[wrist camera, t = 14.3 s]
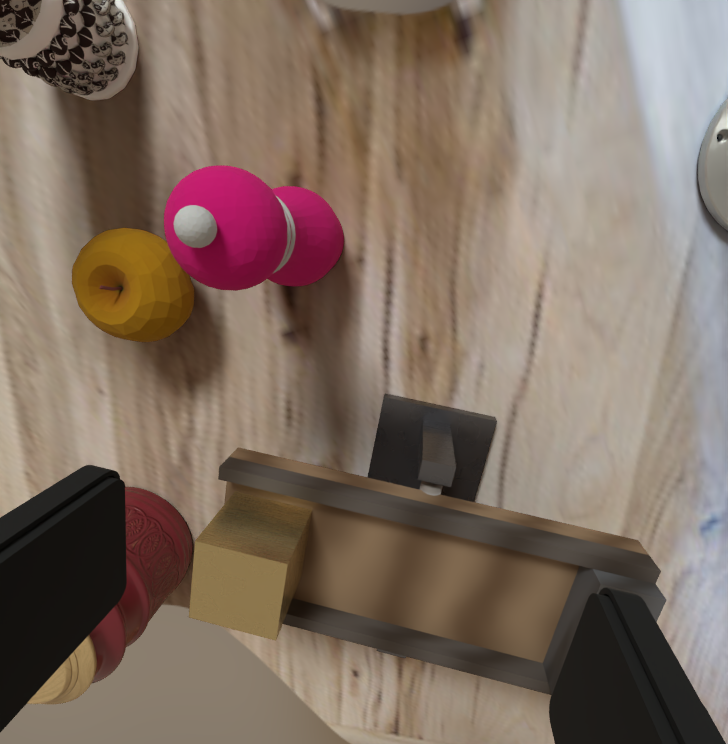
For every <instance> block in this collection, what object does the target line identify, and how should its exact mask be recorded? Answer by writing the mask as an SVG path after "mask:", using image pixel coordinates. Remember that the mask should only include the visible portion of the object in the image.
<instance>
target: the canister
mask: <svg viewBox="0 0 728 744" xmlns="http://www.w3.org/2000/svg"><path fill="white" fill-rule="evenodd" d="M125 510H126V570H127V584H126V589H125V592H124V594H123V596H122V598H121V599H120V601H119V602H118V603H117V605H116V606H115V607H114V608H113V609H112V610H111V611H110V612H109V613H108V614H107V616H106V617H105V618H104V619H103V620H102V621H101V622H100V623H99V624H98V625H97V627H96V628H95V629H94V630H93V631H92V632H91V633H90V634H89V635H88V636H87V638H86V639H85V640H84V641H83V642H82V643H81V644H80V645H79V646H78V647H77V649H76V650H75V651H74V652H73V653H72V654H71V655H70V656H69V657H68V658H67V660H66V661H65V662H64V663H63V664H62V665H61V666H60V667H59V668H58V669H57V671H56V672H55V673H54V674H53V675H52V676H51V677H50V678H49V679H48V680H47V682H46V683H45V684H44V685H43V686H42V687H41V688H40V689H39V690H38V691H37V693H36V694H35V695H34V696H33V697H32V698H31V699H30V700H29V701H28V702H27V704H40V703H41V704H61V703H66V702H69V701H72V700H74V699H76V698H78V697H79V696H80V695H82V694H83V693H84V692H85V691H86V690H87V689H88V688H89V686H90V684H91V683H95V682H98V681H100V680H102V679H104V678H106V677H107V676H108V675H110V674H111V673H112V672H113V671H114V670H115V669H116V668H117V667H118V665H119V664H120V662H121V660H122V658H123V656H124V652H125V648H126V647H127V646H129V645H131V644H132V643H133V642H135V641H136V640H137V639H138V638H139V637H140V636H141V635H142V633H143V632H144V630H145V628H146V626H147V624H148V622H149V621H150V619H151V618H152V616H153V615H154V614H155V613H156V611H157V610H158V608H159V607H160V606H161V605H162V603H163V602H164V601H165V599H166V598H167V597H168V595H170V594H171V593H172V592H173V591H174V590H175V589H176V588H177V586H178V585H179V583H180V582H181V581H182V579H183V578H184V576H185V574H186V571H187V568H188V567H189V564H190V562H191V559H192V552H193V545H192V538H191V535H190V532H189V529H188V527H187V525H186V523H185V521H184V519H183V518H182V517H181V515H180V514H179V513H178V511H177V510H176V509H175V508H174V507H173V506H172V505H171V504H169V503H168V502H167V501H166V500H164V499H163V498H161V497H160V496H158V495H156V494H154V493H152V492H149V491H147V490H144V489H140V488H135V487H125Z"/></svg>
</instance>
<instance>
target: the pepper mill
mask: <svg viewBox="0 0 728 744" xmlns="http://www.w3.org/2000/svg"><path fill="white" fill-rule="evenodd" d="M164 229H165V236H166V239H167V243H168V246H169V249H170V251H171V253H172V255H173V257H174V258H175V260H176V261H177V262H178V264H179V265H180V267H181V268H182V269H183V270H184V271H185V272H186V273H187V274H189V275H190V276H191V277H193V278H194V279H196V280H197V281H199V282H200V283H202V284H204V285H207V286H209V287H213V288H216V289H220V290H242V289H248V288H250V287H253V286H256V285H258V284H260V283H262V282H263V281H264V280H266V279H269V280H270V281H272V282H275V283H277V284H280V285H285V286H304V285H309V284H311V283H314V282H316V281H317V280H319V279H321V278H322V277H323V276H325V275H326V274H327V273H328V272H329V271H330V269H331V268H332V267H333V266H334V265H335V264H336V263H337V261H338V260H339V258H340V255H341V253H342V250H343V244H344V236H343V230H342V227H341V224H340V222H339V220H338V218H337V217H336V215H335V213H334V212H333V210H332V208H331V207H330V206H329V204H328V203H327V202H326V201H325V200H324V199H323V198H322V197H320V196H319V195H317V194H316V193H314V192H312V191H310V190H307V189H304V188H300V187H290V186H283V187H278V188H274V189H271V188H270V187H269V186H267V185H266V184H265V183H264V182H263V181H262V180H261V179H259V178H258V177H256V176H255V175H253V174H251V173H249V172H248V171H245V170H243V169H240V168H236V167H231V166H210V167H205V168H202V169H199V170H196V171H194V172H192V173H190V174H189V175H188V176H186V177H185V178H183V179H182V180H181V181H180V182H179V183H178V184H177V185H176V187H175V188H174V190H173V191H172V193H171V195H170V197H169V199H168V201H167V204H166V208H165V213H164Z"/></svg>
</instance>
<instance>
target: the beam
mask: <svg viewBox="0 0 728 744" xmlns="http://www.w3.org/2000/svg"><path fill="white" fill-rule="evenodd" d="M218 479H220V480H224V481H227V484H226V494H225V503H226V502H227V501H228V500H229V498H230V497H231V496H232V495H233V493H234V492H240V493H244V494H248V495H252V496H256V497H261V498H265V499H269V500H273V501H277V502H281V503H286V504H290V505H294V506H298V507H302V508H306V509H311V510H312V514H311V520H310V526H309V532H308V538H307V544H306V550H305V556H304V562H303V569H302V575H301V578H300V581H299V583H298V586H297V588H296V591H295V593H294V596H293V598H292V601H291V604H290V606H289V609H288V611H287V614H286V616H285V619H284V622H283V624H286V625H290V626H293V627H297V628H301V629H305V630H308V631H312V632H316V633H320V634H324V635H327V636H331V637H335V638H339V639H342V640H346V641H350V642H354V643H357V644H361V645H365V646H369V647H373V648H376V649H380V650H384V651H388V652H391V653H395V654H399V655H403V656H406V657H410V658H414V659H418V660H422V661H425V662H429V663H433V664H437V665H440V666H444V667H448V668H452V669H456V670H459V671H463V672H467V673H471V674H474V675H478V676H482V677H486V678H489V679H493V680H497V681H501V682H505V683H508V684H512V685H516V686H520V687H523V688H527V689H531V690H535V691H538V692H542V693H546V694H550V695H552V693H553V691H554V688H555V685H556V683H557V680H558V677H559V675H560V672H561V669H562V667H563V664H564V661H565V659H566V656H567V653H568V651H569V648H570V645H571V643H572V640H573V637H574V634H575V632H576V629H577V626H578V624H579V621H580V618H581V616H582V613H583V610H584V608H585V605H586V602H587V600H588V598H589V596H590V595H591V594H592V593H596V594H599V592H600V590H601V589H603V588H611V589H615V590H619V591H623V592H628V593H632V594H636V595H638V596H640V597H641V598H642V599H643V600H644V601H645V603H646V605H647V607H648V608H649V610H650V612H651V614H652V616H653V617H654V619H655V621H656V622H657V619H658V617H659V615H660V613H661V611H662V609H663V606H664V604H665V602H666V599H665V597H664V596H663V594H662V593H661V591H660V590H659V589H658V587H657V586H656V584H655V583H656V581H657V579H658V577H659V574H660V572H661V571H660V569H659V568H658V567H657V565H656V564H655V563H654V561H653V560H652V559H651V557H650V556H649V554H648V553H647V552H646V550H645V549H644V548H643V546H642V545H641V544H640V542H639V541H638V540H634V539H630V538H625V537H621V536H617V535H612V534H608V533H604V532H600V531H595V530H591V529H587V528H582V527H578V526H574V525H569V524H565V523H561V522H557V521H552V520H548V519H544V518H539V517H535V516H531V515H526V514H522V513H518V512H513V511H509V510H505V509H501V508H496V507H492V506H488V505H483V504H479V503H475V502H470V501H466V500H462V499H458V498H453V497H449V496H445V495H441V491H442V487H443V486H442V485H439V484H434V483H430V482H426V481H421V485H420V489H414V488H410V487H406V486H402V485H397V484H393V483H389V482H384V481H380V480H376V479H371V478H367V477H363V476H359V475H354V474H350V473H346V472H341V471H337V470H333V469H328V468H324V467H320V466H315V465H311V464H307V463H303V462H298V461H294V460H290V459H285V458H281V457H277V456H272V455H268V454H264V453H260V452H255V451H251V450H247V449H242V448H237V449H236V450H235V451H234V452H233V453H232V454H231V455H230V457H229V458H228V459H227V460H226V461H225V462H224V463H223V464H222V465H221V466H220V467H219V478H218ZM224 505H225V504H224Z"/></svg>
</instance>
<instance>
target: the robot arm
mask: <svg viewBox="0 0 728 744" xmlns="http://www.w3.org/2000/svg"><path fill="white" fill-rule="evenodd" d="M717 136H718V137H719V141H717ZM698 180H699V186H700V191H701V195H702V198H703V200H704V202H705V205H706V207H707V209H708V211H709V212H710V213H711V215H712V216H713V217H714V219H715V220H716V222H718V223H719V224H720V225H721V226H722V227H723V228H725V229H726V230H727V231H728V98H727V99H726V100H725V101H724V103H723V104H722V105H721V106H720V108H719V110H718V111H717V113H716V114H715V116H714V118H713V119H712V121H711V123H710V125H709V127H708V129H707V132H706V134H705V137H704V139H703V142H702V146H701V151H700V156H699V160H698ZM126 584H127V570H126V510H125V483H124V482H123V481H122V480H120V476H119V474H118V472H116V471H114V470H109V469H105V468H101V467H97V466H93V465H86V466H84V467H82V468H80V469H79V470H77V471H75V472H74V473H72V474H70V475H69V476H67V477H66V478H64V479H62V480H61V481H59V482H57V483H56V484H54V485H53V486H51V487H49V488H48V489H46V490H44V491H43V492H41V493H40V494H38V495H36V496H35V497H33V498H31V499H30V500H28V501H27V502H25V503H23V504H22V505H20V506H19V507H17V508H15V509H14V510H12V511H10V512H9V513H7V514H6V515H4V516H2V517H1V518H0V732H1V731H2V730H3V729H4V727H6V726H7V724H8V723H9V722H10V721H11V720H12V719H13V718H14V717H15V716H16V715H17V713H18V712H19V711H20V710H21V709H22V708H23V707H24V706H25V705H26V704H27V702H28V701H29V700H30V699H31V698H32V697H33V696H34V695H35V694H36V693H37V691H38V690H39V689H40V688H41V687H42V686H43V685H44V684H45V683H46V682H47V680H48V679H49V678H50V677H51V676H52V675H53V674H54V673H55V672H56V671H57V669H58V668H59V667H60V666H61V665H62V664H63V663H64V662H65V661H66V660H67V658H68V657H69V656H70V655H71V654H72V653H73V652H74V651H75V650H76V649H77V647H78V646H79V645H80V644H81V643H82V642H83V641H84V640H85V639H86V638H87V636H88V635H89V634H90V633H91V632H92V631H93V630H94V629H95V628H96V627H97V625H98V624H99V623H100V622H101V621H102V620H103V619H104V618H105V617H106V616H107V614H108V613H109V612H110V611H111V610H112V609H113V608H114V607H115V606H116V605H117V603H118V602H119V601H120V599H121V598H122V596H123V594H124V592H125V589H126ZM549 714H550V723H551V728H552V732H553V736H554V741H555V744H726V743H725V741H724V740H723V738H722V736H721V734H720V733H719V731H718V729H717V727H716V726H715V724H714V722H713V720H712V718H711V717H710V715H709V713H708V711H707V710H706V708H705V707H704V705H703V704H702V702H701V701H700V699H699V697H698V695H697V694H696V692H695V690H694V688H693V686H692V685H691V683H690V681H689V679H688V678H687V676H686V674H685V672H684V671H683V669H682V667H681V665H680V663H679V662H678V660H677V658H676V656H675V655H674V653H673V651H672V649H671V647H670V646H669V644H668V642H667V640H666V639H665V637H664V635H663V633H662V631H661V630H660V628H659V626H658V624H657V623H656V621H655V619H654V617H653V616H652V614H651V612H650V610H649V608H648V607H647V605H646V603H645V601H644V600H643V599H642V598H641V597H640V596H638V595H636V594H632V593H628V592H623V591H619V590H615V589H611V588H603V589H601V590H600V592H599V594H596V593H592V594H591V595H590V596H589V598H588V600H587V602H586V605H585V608H584V610H583V613H582V616H581V618H580V621H579V624H578V626H577V629H576V632H575V634H574V637H573V640H572V643H571V645H570V648H569V651H568V653H567V656H566V659H565V661H564V664H563V667H562V669H561V672H560V675H559V677H558V680H557V683H556V685H555V688H554V691H553V693H552V696H551V700H550V706H549Z"/></svg>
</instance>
